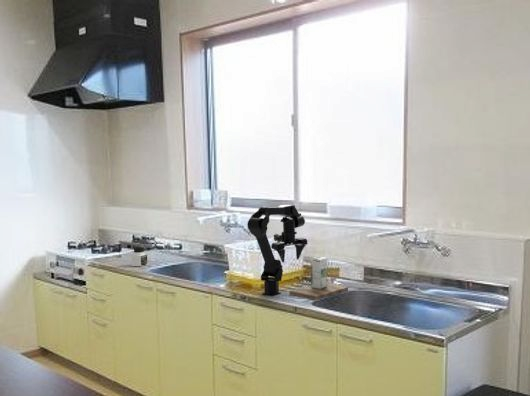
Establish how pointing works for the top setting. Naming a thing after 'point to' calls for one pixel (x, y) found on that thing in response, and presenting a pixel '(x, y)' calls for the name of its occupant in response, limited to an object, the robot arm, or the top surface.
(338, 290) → the walnut board
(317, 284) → the syrup box
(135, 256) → the medicine bottle
